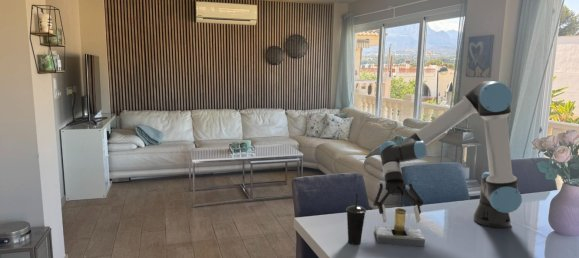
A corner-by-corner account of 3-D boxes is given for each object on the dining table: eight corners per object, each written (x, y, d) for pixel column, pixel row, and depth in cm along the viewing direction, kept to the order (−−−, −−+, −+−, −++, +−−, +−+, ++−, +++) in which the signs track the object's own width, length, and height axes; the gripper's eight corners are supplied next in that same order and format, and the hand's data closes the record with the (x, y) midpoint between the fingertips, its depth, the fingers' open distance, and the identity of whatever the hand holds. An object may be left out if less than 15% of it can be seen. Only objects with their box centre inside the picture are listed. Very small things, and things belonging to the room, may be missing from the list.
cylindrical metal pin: (402, 236, 170) (405, 208, 168) (404, 240, 166) (406, 212, 164) (392, 236, 171) (394, 208, 169) (394, 240, 167) (395, 211, 165)
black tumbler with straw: (366, 240, 165) (369, 192, 162) (361, 248, 159) (364, 197, 156) (347, 236, 169) (350, 189, 166) (342, 244, 162) (344, 194, 159)
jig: (418, 234, 173) (419, 226, 173) (424, 246, 161) (425, 238, 161) (374, 231, 175) (375, 223, 175) (377, 243, 164) (377, 235, 163)
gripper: (419, 179, 181) (429, 225, 169) (362, 178, 180) (368, 225, 167) (424, 170, 175) (435, 217, 162) (365, 169, 174) (372, 217, 161)
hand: (401, 221), depth 165 cm, fingers open, 13 cm apart
